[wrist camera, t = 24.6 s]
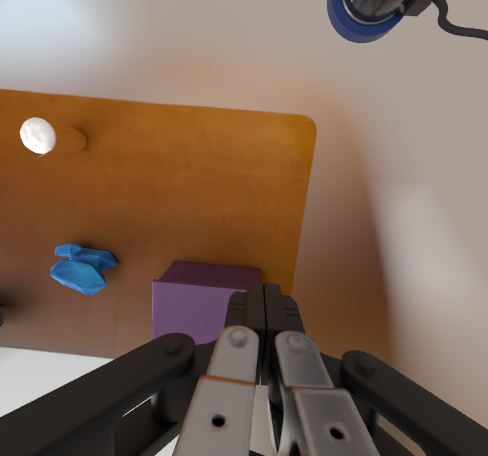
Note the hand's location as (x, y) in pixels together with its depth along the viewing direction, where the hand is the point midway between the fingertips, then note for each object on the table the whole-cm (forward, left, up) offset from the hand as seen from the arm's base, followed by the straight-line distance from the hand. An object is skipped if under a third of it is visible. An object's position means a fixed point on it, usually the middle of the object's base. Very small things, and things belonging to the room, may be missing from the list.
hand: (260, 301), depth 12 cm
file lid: (+6, +19, -25) cm, 32 cm away
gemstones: (+28, +13, -33) cm, 45 cm away
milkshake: (+30, -7, -33) cm, 45 cm away
